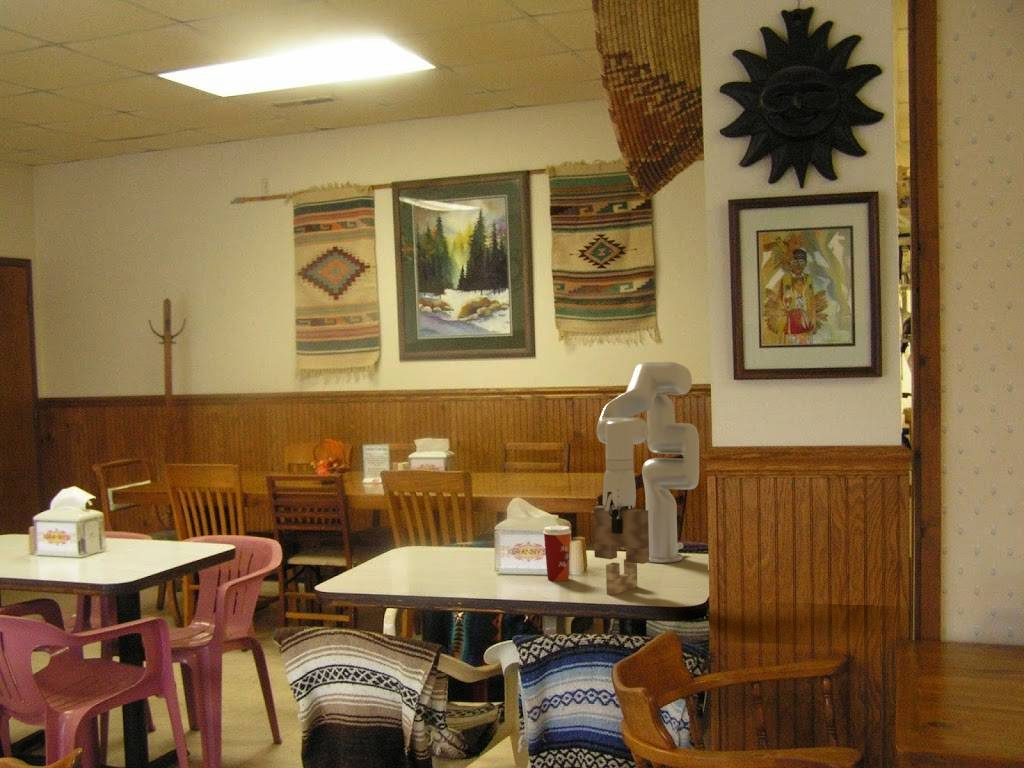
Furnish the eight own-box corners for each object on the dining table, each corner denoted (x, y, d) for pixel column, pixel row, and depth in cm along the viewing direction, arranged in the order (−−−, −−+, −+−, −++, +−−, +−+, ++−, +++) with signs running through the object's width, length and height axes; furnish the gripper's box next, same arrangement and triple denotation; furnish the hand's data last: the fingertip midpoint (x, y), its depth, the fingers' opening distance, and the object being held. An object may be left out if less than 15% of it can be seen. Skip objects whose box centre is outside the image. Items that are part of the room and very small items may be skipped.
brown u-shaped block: (631, 585, 295) (630, 557, 294) (637, 586, 293) (636, 558, 293) (606, 594, 285) (606, 564, 285) (612, 595, 284) (612, 565, 284)
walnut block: (594, 557, 293) (593, 507, 293) (600, 555, 295) (599, 505, 295) (643, 563, 283) (642, 512, 282) (649, 562, 285) (648, 510, 285)
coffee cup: (570, 582, 300) (568, 530, 300) (541, 582, 302) (540, 529, 301) (574, 576, 308) (573, 525, 308) (546, 575, 310) (545, 524, 309)
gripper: (625, 461, 297) (626, 526, 297) (590, 467, 284) (592, 535, 285) (647, 463, 292) (649, 529, 293) (613, 469, 279) (615, 538, 280)
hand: (621, 531), depth 289 cm, fingers closed on walnut block, 3 cm apart
